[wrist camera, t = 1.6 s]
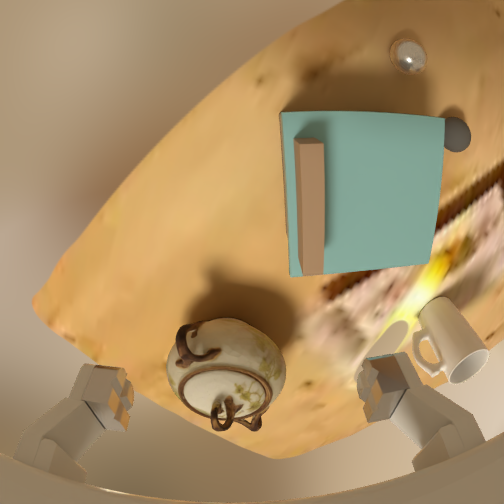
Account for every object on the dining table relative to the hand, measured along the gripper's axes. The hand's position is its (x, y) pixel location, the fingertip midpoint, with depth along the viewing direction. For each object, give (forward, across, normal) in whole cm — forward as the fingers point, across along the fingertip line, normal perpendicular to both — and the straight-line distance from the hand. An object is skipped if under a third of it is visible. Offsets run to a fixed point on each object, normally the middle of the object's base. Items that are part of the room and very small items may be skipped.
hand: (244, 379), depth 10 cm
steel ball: (+24, -17, -14) cm, 33 cm away
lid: (+17, -11, -1) cm, 20 cm away
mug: (+24, -28, +20) cm, 42 cm away
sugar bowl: (+25, +2, +22) cm, 34 cm away
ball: (+24, -24, -6) cm, 34 cm away
